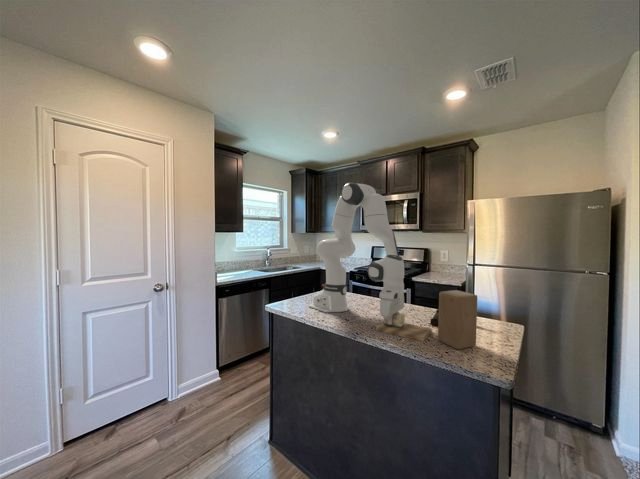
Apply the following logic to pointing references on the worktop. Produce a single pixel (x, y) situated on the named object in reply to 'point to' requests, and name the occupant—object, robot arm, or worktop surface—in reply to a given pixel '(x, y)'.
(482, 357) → the worktop surface
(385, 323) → the sanding block
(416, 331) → the board
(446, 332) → the wooden block
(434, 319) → the hand tool
